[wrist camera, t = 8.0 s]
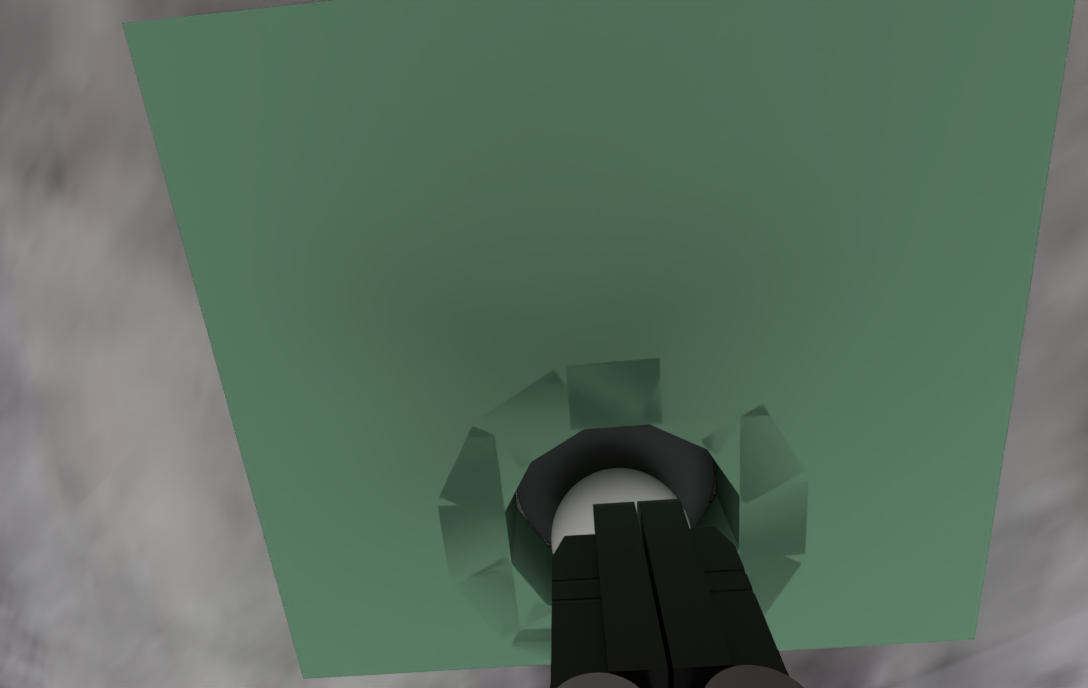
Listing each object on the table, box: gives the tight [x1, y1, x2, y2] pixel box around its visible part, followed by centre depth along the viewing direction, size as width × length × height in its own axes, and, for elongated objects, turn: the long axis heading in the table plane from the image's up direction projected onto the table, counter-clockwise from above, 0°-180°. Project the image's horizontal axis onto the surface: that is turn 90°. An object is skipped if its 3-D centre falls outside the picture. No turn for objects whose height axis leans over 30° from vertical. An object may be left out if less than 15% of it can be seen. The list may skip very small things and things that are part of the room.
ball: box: [551, 468, 690, 554], centre depth 20 cm, size 4×4×4 cm
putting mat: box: [122, 0, 1075, 679], centre depth 19 cm, size 20×22×3 cm
